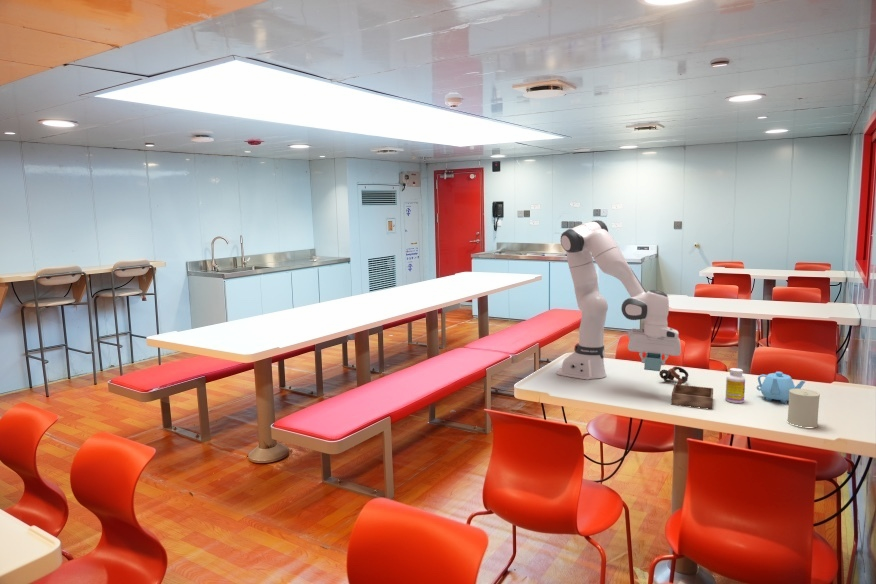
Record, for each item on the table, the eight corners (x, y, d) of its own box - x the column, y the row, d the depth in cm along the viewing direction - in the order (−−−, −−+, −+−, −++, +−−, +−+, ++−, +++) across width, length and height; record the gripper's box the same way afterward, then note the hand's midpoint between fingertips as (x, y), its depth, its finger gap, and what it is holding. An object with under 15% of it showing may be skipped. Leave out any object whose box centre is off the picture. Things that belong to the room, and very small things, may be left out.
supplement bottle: (745, 404, 224) (747, 372, 223) (726, 402, 227) (728, 370, 225) (742, 399, 231) (744, 368, 229) (724, 397, 233) (725, 366, 231)
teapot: (807, 405, 222) (809, 376, 221) (772, 406, 222) (774, 377, 221) (783, 393, 238) (784, 367, 236) (750, 394, 237) (751, 367, 236)
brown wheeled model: (677, 380, 261) (686, 366, 257) (684, 394, 254) (693, 381, 249) (653, 374, 260) (661, 360, 256) (658, 388, 252) (667, 374, 248)
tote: (660, 371, 229) (660, 359, 229) (644, 369, 232) (644, 357, 231) (661, 365, 239) (662, 353, 238) (645, 363, 241) (646, 352, 240)
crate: (671, 404, 225) (671, 393, 225) (674, 394, 238) (674, 384, 237) (711, 409, 219) (712, 398, 218) (712, 399, 231) (713, 388, 231)
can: (789, 426, 200) (792, 393, 198) (784, 418, 208) (786, 386, 207) (820, 429, 197) (823, 395, 195) (814, 421, 205) (816, 388, 204)
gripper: (627, 329, 234) (625, 362, 236) (682, 334, 226) (679, 368, 228) (629, 326, 240) (627, 359, 242) (682, 331, 232) (679, 365, 234)
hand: (653, 363), depth 235 cm, fingers closed on tote, 6 cm apart
